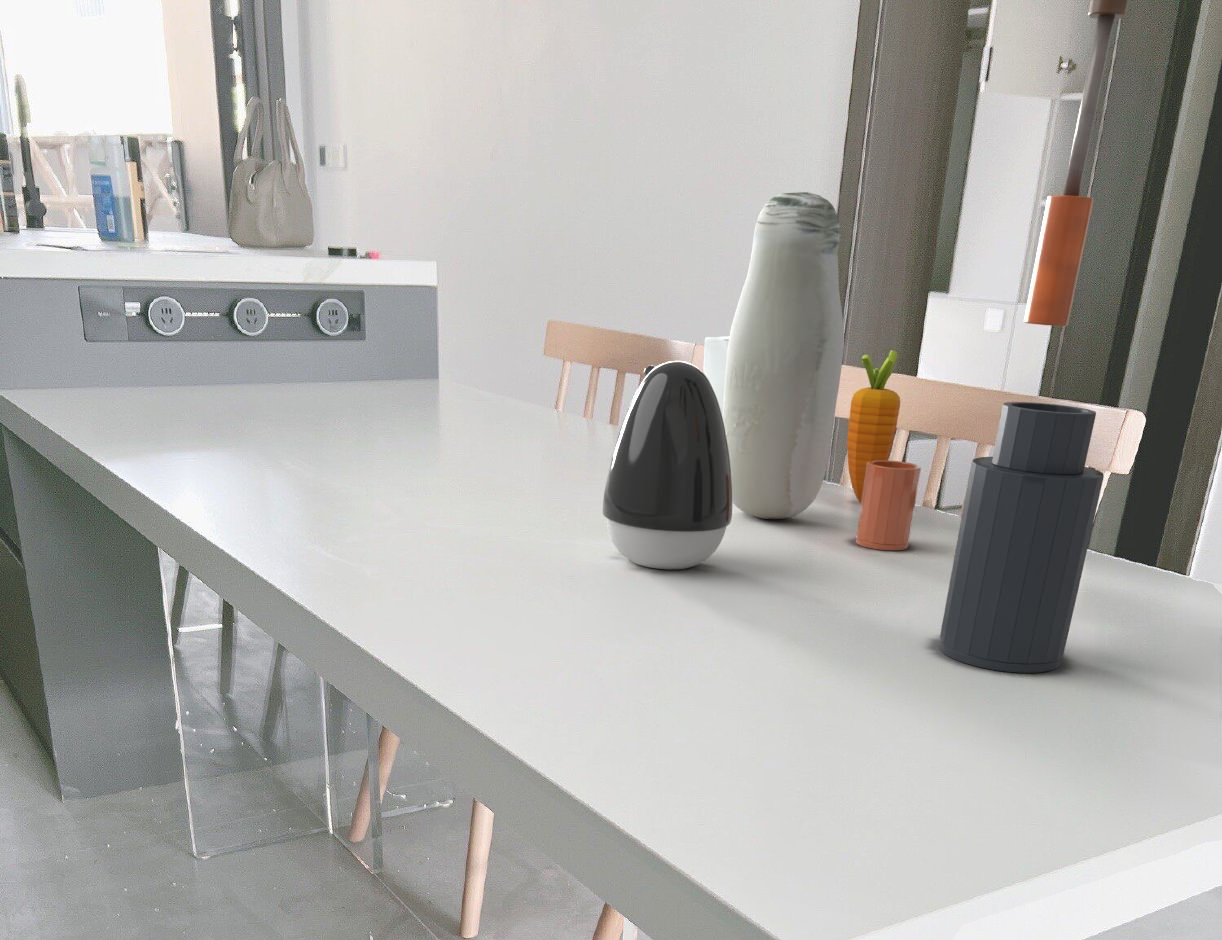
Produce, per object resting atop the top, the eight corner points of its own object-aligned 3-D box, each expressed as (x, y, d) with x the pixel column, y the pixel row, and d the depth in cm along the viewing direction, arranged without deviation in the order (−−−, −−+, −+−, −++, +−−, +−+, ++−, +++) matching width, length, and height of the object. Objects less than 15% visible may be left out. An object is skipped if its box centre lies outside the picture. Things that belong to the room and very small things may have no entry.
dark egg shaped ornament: (691, 545, 105) (707, 356, 98) (749, 575, 96) (771, 370, 90) (579, 548, 101) (589, 352, 94) (630, 580, 92) (644, 366, 86)
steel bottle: (1062, 648, 83) (1116, 408, 76) (1060, 680, 76) (1118, 420, 69) (944, 630, 85) (987, 396, 78) (932, 660, 78) (978, 407, 72)
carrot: (840, 505, 126) (862, 350, 120) (834, 496, 131) (854, 346, 124) (888, 508, 126) (913, 353, 120) (881, 499, 131) (903, 350, 124)
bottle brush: (1068, 325, 76) (1166, -155, 66) (1067, 326, 73) (1169, -170, 63) (1024, 322, 76) (1115, -154, 66) (1022, 323, 74) (1116, -169, 64)
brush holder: (910, 543, 111) (923, 464, 108) (904, 553, 107) (917, 471, 104) (860, 536, 112) (871, 458, 109) (851, 546, 108) (863, 465, 105)
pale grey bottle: (840, 522, 118) (885, 197, 106) (764, 531, 112) (803, 187, 100) (767, 503, 125) (801, 196, 113) (692, 510, 119) (721, 187, 107)
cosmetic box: (782, 482, 137) (798, 340, 130) (742, 486, 133) (758, 340, 127) (730, 470, 142) (744, 333, 136) (691, 473, 139) (704, 332, 133)
